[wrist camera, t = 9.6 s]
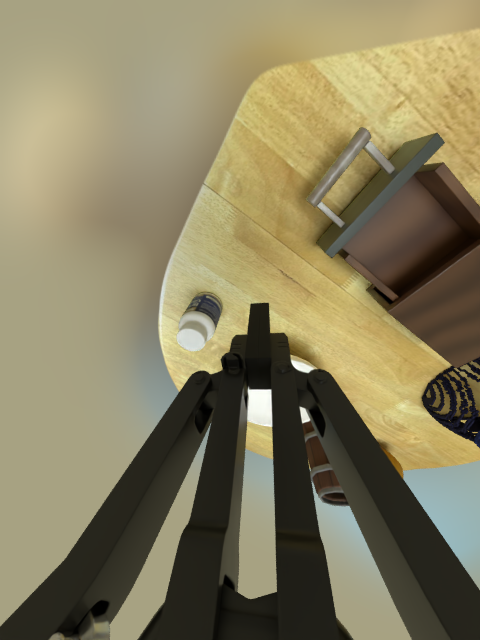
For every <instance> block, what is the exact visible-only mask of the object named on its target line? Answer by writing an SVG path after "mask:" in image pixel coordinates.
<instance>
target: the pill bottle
mask: <svg viewBox="0 0 480 640" xmlns="http://www.w3.org/2000/svg"><path fill="white" fill-rule="evenodd" d="M221 312H222V303H221V301H220V300H219V298H218V297H217V296H215V295H213V294H211V293H206V292H203V293H199V294H198V295H196V296H195V297H194V298H193V300H192V301H191V303H190V304H189V306H188V308H187V309H186V311H185V312H184V314H183V315H182V317H181V319H180V321H179V332H178V333H177V341H178V343H179V345H180V346H181V347H183V348H184V349H186V350H189V351H198V350H201V349H202V348H203V347H204V345H205V343H206V342H207V341H209V340H210V339H211V338H212V337H213V335H214V332H215V330H216V327H217V324H218V321H219V318H220V315H221Z"/></svg>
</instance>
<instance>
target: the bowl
mask: <svg viewBox="0 0 480 640" xmlns="http://www.w3.org/2000/svg"><path fill="white" fill-rule="evenodd" d="M290 356H291V362H292V365H293V366H294V367H295V368H296V369H297V370H299V371H302V372H306V373H309V372H310V371H311V370H314V369H317V368H316V367H315V366H314V365H312V364H311V363H309V362H308V361H306V360H303V359H301V358H299V357H297V356H294V355H290ZM248 395H249V402H248V416H247V421H249V422H252V423H255V424H259V425H263V426H271V427H272V401H271V390H249V386H248ZM300 412H301V419H302V423H305V422H308V421H310V418H309V416H308V414H307V412H306V409H305V408H302V407H300Z"/></svg>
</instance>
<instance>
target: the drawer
mask: <svg viewBox="0 0 480 640" xmlns="http://www.w3.org/2000/svg"><path fill="white" fill-rule="evenodd" d="M370 139H371V134H370V132H369V131H368V130H367V129H365V128H363V127H361V128H359V130H358V131H357V132H356V134H355V135H354V136H353V138H352V139H351V140H350V142H349V143H348V144H347V145H346V147H345V148H344V149H343V151H342V152H341V153H340V155H339V156H338V157H337V159H336V160H335V161H334V163H333V164H332V165H331V167H330V168H329V169H328V170H327V172H326V173H325V174H324V176H323V177H322V178H321V180H320V181H319V182H318V184H317V185H316V186H315V188H314V189H313V190H312V192H311V193H310V194H309V195H308V197H307V198H306V201H307V202H309V203H310V204H311V205H312V206H313V207H316V206H317V207H318V208H319V209H320V210H321V211H322V212H323V213H324V214H325V215H327V216H328V217H329V218H330V219H331V220H332V221H333V222H334V223H333V224H332V225H331V226H330V228H329V229H328V230H327V231H326V232H325V233H324V234H323V235H322V237H321V238H320V239H319V240H318V241H317V242H316V243H317V244H318V246H319V247H320V248H321V249H322V250H323V251H324V252H325V253H326V254H327V255H328V256H330V257H331V258H333V257H334V256H335V255H336V254H338V255H340V256H341V257H342V258H343V259H344V260H345V261H346V262H347V263H348V264H350V265H351V266H352V267H353V268H354V269H356V270H357V271H358V272H359V273H360V274H361V275H363V276H364V277H365V278H366V279H367V280H369V281H370V282H371V283H372V284H373V285H374V286H376V287H377V288H378V289H379V290H380V291H381V292H383V293H384V294H385V295H386V296H387V297H389V298H390V299H391V300H392V301H393V302H395V301H396V300H398V299H399V298H400V297H402V296H403V295H404V294H406V293H407V292H408V291H410V290H411V289H412V288H414V287H415V286H416V285H418V284H419V283H420V282H422V281H423V280H424V279H426V278H427V277H429V276H430V275H431V274H433V273H434V272H435V271H437V270H438V269H439V268H441V267H442V266H443V265H445V264H446V263H447V262H449V261H450V260H451V259H453V258H454V257H455V256H457V255H458V254H459V253H461V252H462V251H464V250H465V249H466V248H468V247H469V246H470V245H472V244H473V243H474V242H476V241H477V240H478V239H480V206H479V205H478V204H477V203H476V202H475V200H474V199H473V198H472V197H471V195H470V194H469V193H468V192H467V191H466V189H465V188H464V187H463V186H462V184H461V183H460V182H459V181H458V179H457V178H456V177H455V176H454V175H453V173H452V172H451V171H450V170H449V168H448V167H447V166H446V165H445V164H444V163H443V162H442V163H435V164H427V165H424V164H425V163H426V162H427V161H428V159H429V158H430V157H431V156H432V155H433V154H434V153H435V152H436V151H437V150H438V149H439V148H440V147H441V146H442V145H443V144H444V143H445V142H444V141H443V139H442V138H441V137H440V135H439V134H438V133H434V134H431V135H428V136H424V137H421V138H418V139H415V140H411V141H408V142H405V143H404V144H403V145H402V146H401V147H400V149H399V150H398V151H397V152H396V153H395V154H394V155H393V156H392V158H391V159H390V160H389V161H388V160H387V159H386V157H385V156H384V155H383V154H382V153H381V152H380V151H379V150H378V149H377V148H376V146H375V145H374V144H373V143H372V142H371V141H369V140H370ZM362 149H364V150H365V151H366V152H367V153H368V154H369V156H370V157H371V158H372V159H373V160H374V161H375V162H376V163H377V164H378V165H379V166H380V167H381V168H382V169H381V170H380V171H379V172H378V173H377V175H376V176H375V177H374V178H373V179H372V180H371V181H370V182H369V184H368V185H367V186H366V187H365V188H364V189H363V190H362V191H361V193H360V194H359V195H358V196H357V197H356V198H355V199H354V200H353V202H352V203H351V204H350V205H349V206H348V207H347V208H346V209H345V211H344V212H343V213H342V214H341V215H340V216H339V217H338V216H337V215H336V214H335V213H333V212H332V211H331V210H330V209H329V208H328V207H327V206H326V205H325V204H324V203H323V202H321V200H322V199H323V197H324V196H325V195H326V194H327V192H328V191H329V190H330V189H331V187H332V186H333V185H334V184H335V182H336V181H337V180H338V179H339V177H340V176H341V175H342V174H343V172H344V171H345V170H346V169H347V167H348V166H349V165H350V164H351V162H352V161H353V160H354V159H355V157H356V156H357V155H358V154H359V152H360V151H361V150H362Z"/></svg>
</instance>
